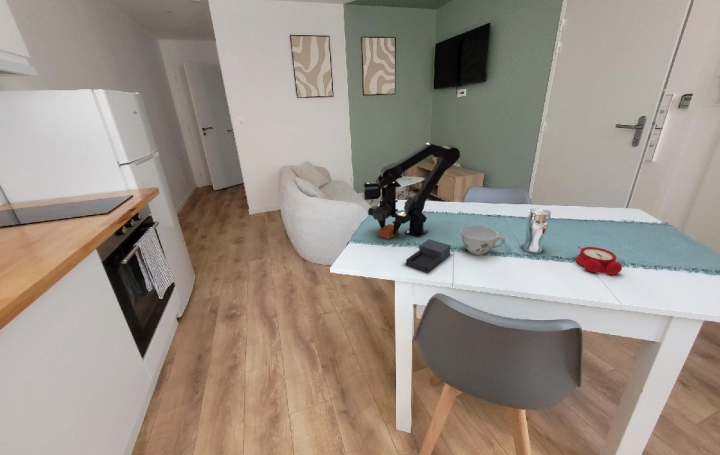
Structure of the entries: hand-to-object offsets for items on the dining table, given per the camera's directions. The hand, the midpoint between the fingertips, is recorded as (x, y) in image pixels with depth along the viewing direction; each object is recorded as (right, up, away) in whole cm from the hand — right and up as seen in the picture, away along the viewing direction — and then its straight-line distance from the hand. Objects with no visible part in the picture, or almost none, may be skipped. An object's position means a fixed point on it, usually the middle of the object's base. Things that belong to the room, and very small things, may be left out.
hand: (389, 232), depth 124 cm
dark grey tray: (+12, -9, -21) cm, 26 cm away
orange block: (0, -1, 0) cm, 1 cm away
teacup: (+32, -7, -17) cm, 37 cm away
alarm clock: (+65, -11, -30) cm, 72 cm away
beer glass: (+51, -6, -17) cm, 54 cm away
